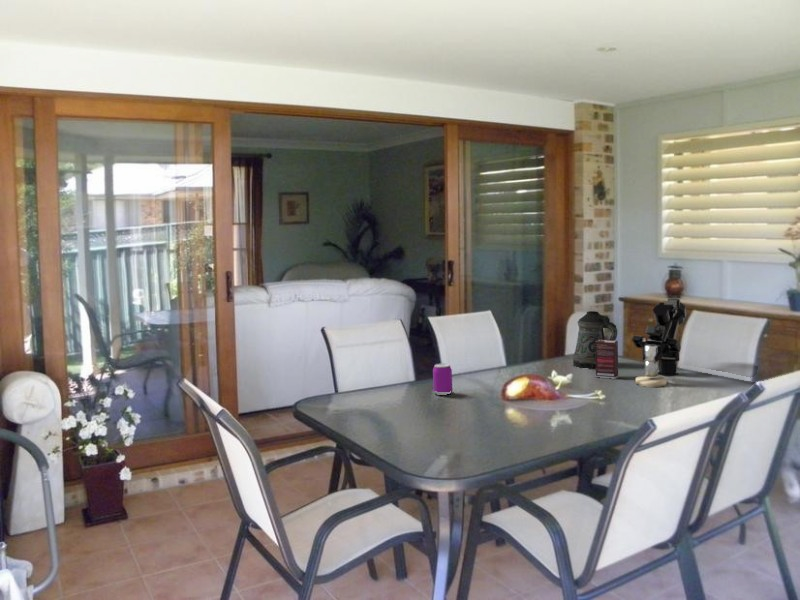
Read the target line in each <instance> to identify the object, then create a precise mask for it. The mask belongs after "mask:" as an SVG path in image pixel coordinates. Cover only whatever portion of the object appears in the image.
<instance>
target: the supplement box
mask: <svg viewBox="0 0 800 600" xmlns="http://www.w3.org/2000/svg"><path fill="white" fill-rule="evenodd" d="M618 341H619V340H615V341H611V340H610V339H605V340H597V341H595V352H596V369H595V378H596V377H600V378H599V379H609V378H611V379H613V380H615V379H618V378H619V345H618V344H619V342H618Z"/></svg>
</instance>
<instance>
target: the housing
mask: <svg viewBox="0 0 800 600" xmlns="http://www.w3.org/2000/svg"><path fill="white" fill-rule="evenodd" d="M657 354H658V345H654V344H647V345H645V360H644V376H647V377H657V376H659V374H658V372H659V360H658V361H657V362H656V361H655V359H656V356H657Z"/></svg>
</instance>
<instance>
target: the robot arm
mask: <svg viewBox="0 0 800 600" xmlns="http://www.w3.org/2000/svg"><path fill="white" fill-rule="evenodd" d="M686 307H687V306H686V305H684V304H683V303H682V302H681V299H679V298H668V299H667V301H666V302H658V304H656V305H655V306H654V307H653V309H652V311H653V316H654V320H655V323H656V324H655V325H646V328H645V334H646V335H647V338H649V339H647V338H646V337H644V335H633V336H632V339H631V341H632V343H633V344H634V346H635V347H636V348H638V349H641V350H642V360H643V361H645V345H647V344H654V345H658V354H657V356H656V359H655V361H656V362H657V361H658V375H662V376H667V377H670V376H676V375H679V372H677V363H676V362H680V351H681V348H682V347H681V344H680V342H679V340H678V339H677V334H678V330H679V325H682V324H683V323H684V322H685V319H686V318H687V308H686Z"/></svg>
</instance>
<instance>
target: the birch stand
mask: <svg viewBox="0 0 800 600" xmlns="http://www.w3.org/2000/svg"><path fill="white" fill-rule="evenodd" d="M667 383H668V382H667V378H666V377H664V376H660V375H658V376H657V377H647V376H645V375H640V376H637V377H635V385H637V384H638V385H637V386H639V385H640V387H643V386H646V387H645V388H660V387H661V386H663V387H666V386H667ZM665 385H666V386H665ZM661 388H662V387H661Z"/></svg>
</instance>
